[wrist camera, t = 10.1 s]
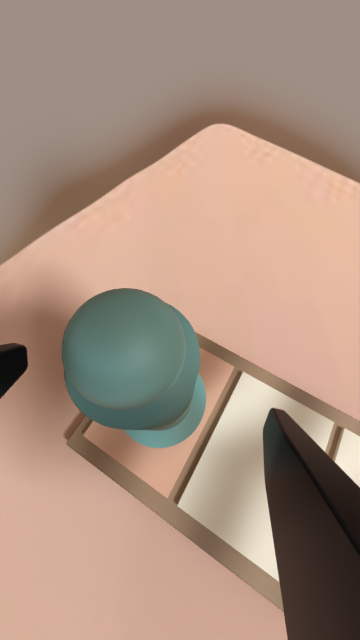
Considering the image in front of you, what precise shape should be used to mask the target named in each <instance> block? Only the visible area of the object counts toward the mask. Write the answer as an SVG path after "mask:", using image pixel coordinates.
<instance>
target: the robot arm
mask: <svg viewBox="0 0 360 640" xmlns="http://www.w3.org/2000/svg"><path fill="white" fill-rule="evenodd" d="M27 366H28V360H27V348H26V347H25V346H24V345H21V344H17V343H10V344H4V345H0V398H1V397H2V396H3V395H4V394H5V393H6V392H7V391H8V390H9V388H10V387H11V386H12V385H13V384H14V383H15V382H16V381H17V380H18V379H19V378H20V376H21V375H22V374H23V373H24V372H25V371H26V369H27ZM263 457H264V479H265V488H266V495H267V502H268V508H269V515H270V522H271V529H272V535H273V542H274V549H275V556H276V562H277V569H278V576H279V583H280V589H281V596H282V603H283V610H284V616H285V623H286V630H287V637H288V640H360V487H359V486H358V485H357V484H356V483H355V482H354V481H353V480H352V479H351V478H350V477H349V476H348V475H347V474H346V473H345V472H344V471H343V470H342V469H341V468H340V467H339V466H338V465H337V464H336V463H335V462H334V461H333V460H332V459H331V458H330V456H329V455H328V454H327V453H326V452H325V451H324V450H323V449H322V448H321V447H320V446H319V445H318V444H317V443H316V442H315V441H314V440H313V439H312V438H311V437H310V436H309V435H308V434H307V433H306V432H305V431H304V430H303V429H302V428H301V427H300V426H299V425H298V424H297V423H296V422H295V421H294V420H293V419H292V418H291V417H290V416H289V415H288V414H287V412H285V411H284V410H281V409H277V408H271V409H270V410H269V413H268V416H267V418H266V421H265V424H264V427H263Z"/></svg>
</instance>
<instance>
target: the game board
mask: <svg viewBox="0 0 360 640" xmlns="http://www.w3.org/2000/svg"><path fill="white" fill-rule="evenodd" d="M195 334H196V337H197V340H198V343H199V349H200V366H199V371H198V373H199V375H200V376H201V378H202V381H203V383H204V387H205V392H206V406H205V411H204V415H203V417H202V420H201V422H200V424H199V425H198V427H197V428H196V430H195V431H194V432H193V433H192V434H191V435H190V436H189V437H188V438H187V439H185V440H184V441H182V442H181V443H179V444H176V445H174V446H171V447H166V448H152V447H147V446H144V445H142V444H140V443H138V442H136V441H135V440H133V439H132V438H131V437H130V436H129V435H127V433H126V432H125V431H124V430H123V429H115V428H110V427H107V426H103V425H101V424H99V423H97V422H95V421H93V420H91V419H90V418H88V417H87V416H85V418H84V419H83V420H82V422H81V423H80V425H79V426H78V427H77V429H76V430H75V432H74V433H73V434H72V436H71V437H70V439H69V440H68V442H67V443H66V444H67V445H68V446H69V447H71V448H72V449H73V450H74V451H76V452H77V453H78V454H80V455H81V456H82V457H84V458H85V459H86V460H87V461H89V462H90V463H91V464H93V465H94V466H95V467H96V468H98V469H99V470H100V471H102V472H103V473H104V474H106V475H107V476H108V477H109V478H111V479H112V480H113V481H115V482H116V483H117V484H119V485H120V486H121V487H122V488H124V489H125V490H126V491H128V492H129V493H130V494H131V495H133V496H134V497H135V498H137V499H138V500H139V501H141V502H142V503H143V504H144V505H146V506H147V507H148V508H150V509H151V510H152V511H154V512H155V513H156V514H157V515H159V516H160V517H161V518H163V519H164V520H165V521H166V522H168V523H169V524H170V525H172V526H173V527H174V528H176V529H177V530H178V531H179V532H181V533H182V534H183V535H185V536H186V537H187V538H189V539H190V540H191V541H192V542H194V543H195V544H196V545H198V546H199V547H200V548H201V549H203V550H204V551H205V552H207V553H208V554H209V555H211V556H212V557H213V558H214V559H216V560H217V561H218V562H220V563H221V564H222V565H224V566H225V567H226V568H227V569H229V570H230V571H231V572H233V573H234V574H235V575H236V576H238V577H239V578H240V579H242V580H243V581H244V582H246V583H247V584H248V585H249V586H251V587H252V588H253V589H255V590H256V591H257V592H259V593H260V594H261V595H262V596H264V597H265V598H266V599H268V600H269V601H270V602H271V603H273V604H274V605H275V606H277V607H278V608H279V609H281V610H282V611H283V612H284V610H283V603H282V596H281V589H280V583H279V576H278V569H277V562H276V556H275V549H274V542H273V535H272V529H271V522H270V515H269V508H268V502H267V495H266V488H265V479H264V457H263V427H264V424H265V421H266V418H267V416H268V413H269V410H270V409H271V408H277V409H281V410H284V411H285V412H287V414H288V415H289V416H290V417H291V418H292V419H293V420H294V421H295V422H296V423H297V424H298V425H299V426H300V427H301V428H302V429H303V430H304V431H305V432H306V433H307V434H308V435H309V436H310V437H311V438H312V439H313V440H314V441H315V442H316V443H317V444H318V445H319V446H320V447H321V448H322V449H323V450H324V451H325V452H326V453H327V454H328V455H329V456H330V458H331V459H332V460H333V461H334V462H335V463H336V464H337V465H338V466H339V467H340V468H341V469H342V470H343V471H344V472H345V473H346V474H347V475H348V476H349V477H350V478H351V479H352V480H353V481H354V482H355V483H356V484H357V485H358V486H359V487H360V421H358V420H356V419H354V418H353V417H351V416H349V415H347V414H345V413H343V412H342V411H340V410H338V409H336V408H334V407H332V406H330V405H329V404H327V403H325V402H323V401H321V400H319V399H318V398H316V397H314V396H312V395H310V394H308V393H307V392H305V391H303V390H301V389H299V388H297V387H295V386H294V385H292V384H290V383H288V382H286V381H284V380H283V379H281V378H279V377H277V376H275V375H273V374H272V373H270V372H268V371H266V370H264V369H262V368H260V367H259V366H257V365H255V364H253V363H251V362H249V361H248V360H246V359H244V358H242V357H240V356H238V355H236V354H235V353H233V352H231V351H229V350H227V349H225V348H224V347H222V346H220V345H218V344H216V343H214V342H213V341H211V340H209V339H207V338H205V337H203V336H201V335H200V334H198V333H196V332H195Z"/></svg>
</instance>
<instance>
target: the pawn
mask: <svg viewBox="0 0 360 640" xmlns="http://www.w3.org/2000/svg"><path fill="white" fill-rule="evenodd" d="M62 360H63V365H64V376H65V382H66V386H67V389H68V392H69V394H70V396H71V398H72V400H73V402H74V403H75V404H76V406H77V407H78V408H79V410H80V411H81V412H83V413H84V414H85V415H86V416H87V417H88V418H90V419H91V420H93V421H95V422H97V423H99V424H101V425H103V426H107V427H110V428H115V429H123V430H124V431H125V432H126V433H127V435H129V436H130V437H131V438H132V439H133V440H135V441H136V442H138V443H140V444H142V445H144V446H147V447H152V448H166V447H171V446H174V445H176V444H179V443H181V442H182V441H184V440H185V439H187V438H188V437H189V436H190V435H191V434H192V433H193V432H194V431H195V430H196V428H197V427H198V425H199V424H200V422H201V420H202V417H203V415H204V411H205V406H206V392H205V387H204V383H203V381H202V378H201V376H200V375H199V373H198V371H199V366H200V349H199V343H198V340H197V337H196V334H195V332H194V330H193V328H192V326H191V325H190V323H189V321H188V320H187V319H186V318H185V317H184V316H183V315H182V314H181V313H180V312H179V311H178V310H177V309H175V308H174V307H172V306H171V305H169V304H167V303H165V302H164V301H162V300H161V299H159V298H158V297H156V296H154V295H152V294H150V293H148V292H145V291H142V290H138V289H130V288H121V289H113V290H109V291H106V292H103V293H100V294H98V295H96V296H94V297H92V298H91V299H89V300H88V301H87V302H85V303H84V304H83V305H82V306H81V307H80V308H79V309H78V310H77V311H76V312H75V314H74V315H73V317H72V318H71V320H70V321H69V323H68V325H67V327H66V330H65V333H64V337H63V342H62Z"/></svg>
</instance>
